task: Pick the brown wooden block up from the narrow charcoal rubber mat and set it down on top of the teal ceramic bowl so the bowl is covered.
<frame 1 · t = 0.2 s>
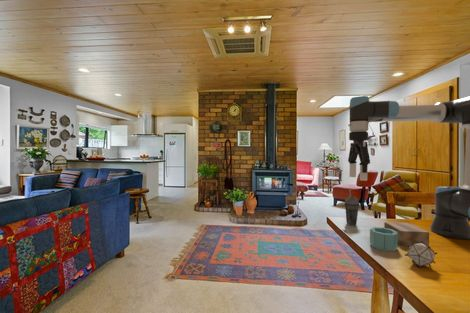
hand: (357, 178, 105), 27 cm above the table, tool pointing down, fingers open, 13 cm apart
game die: (420, 266, 81), on the table
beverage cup: (351, 225, 126), on the table
brown wooden block: (405, 240, 104), resting on mat
bowl: (383, 247, 96), on the table
mat: (405, 241, 104), on the table
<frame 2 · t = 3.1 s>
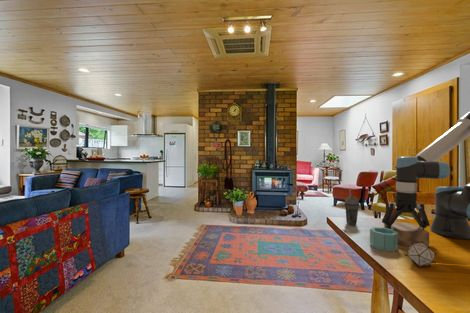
hand: (404, 240, 104), 0 cm above the table, tool pointing down, fingers open, 11 cm apart
brown wooden block: (405, 240, 104), resting on mat, touching gripper
everything else where it was.
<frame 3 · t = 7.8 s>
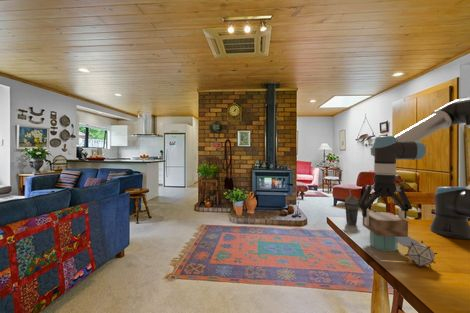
hand: (383, 225, 96), 9 cm above the table, tool pointing down, fingers open, 13 cm apart
brown wooden block: (383, 230, 96), point 7 cm above the table, touching bowl
everything else where it was.
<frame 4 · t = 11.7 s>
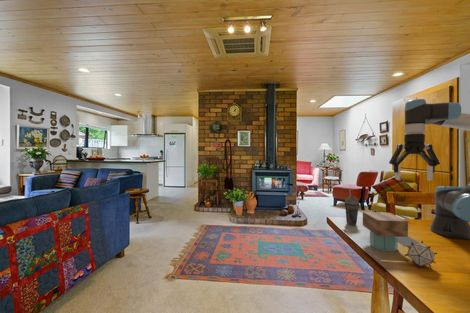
hand: (413, 180, 107), 27 cm above the table, tool pointing down, fingers open, 13 cm apart
nothing on the table moved.
at the end: brown wooden block 0.1 cm off-centre on the bowl, point 7.0 cm above the bowl's base; brown wooden block tilted 0°; the gripper is holding nothing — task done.
